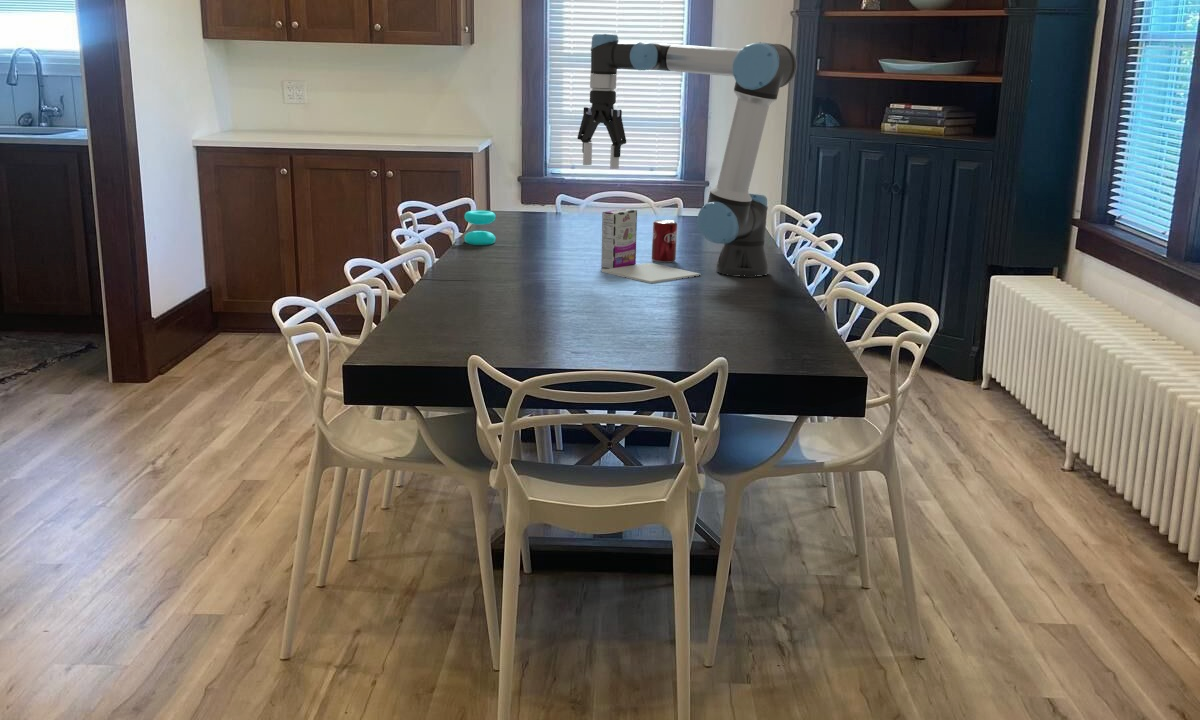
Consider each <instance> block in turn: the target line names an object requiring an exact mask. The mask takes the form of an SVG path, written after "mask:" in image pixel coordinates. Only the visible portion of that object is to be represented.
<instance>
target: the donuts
mask: <svg viewBox="0 0 1200 720" xmlns="http://www.w3.org/2000/svg"><path fill="white" fill-rule="evenodd" d="M496 217H497V216H496V213H495V212H493V211H489V210H468V211H466V212H465V213H464V220H465V221H466V222H467V223H469V224H472V225H489V224H491V223H493V222H494V221H495V220H496ZM496 241H497V239H496V236H495V234H493V233H492V232H490V231H488V230H487V231H484V230H473V231H469V232H467V233H466V234H465V235H464V242H465V243H466V244H469V245H473V246H474V245H475V246H488V245H493V244H494V243H495V242H496Z"/></svg>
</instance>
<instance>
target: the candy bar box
mask: <svg viewBox="0 0 1200 720" xmlns="http://www.w3.org/2000/svg"><path fill="white" fill-rule="evenodd" d="M601 215H602V216H601V219H602V220H601V221H602V223H601V224H602V225H601V264H600V265H601V269H609V268H617V267H624V266H631V265H637V260H636V258H637V255H636V254H637V231H638V230H637V229H638V228H637V226H638V225H637V223H638V210H637V209H632V208H621V209H615V210H609V211H608V210H607V211H602V212H601Z"/></svg>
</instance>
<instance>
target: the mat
mask: <svg viewBox="0 0 1200 720" xmlns="http://www.w3.org/2000/svg"><path fill="white" fill-rule="evenodd" d="M600 272H601V273H604V274H605V273H606V274H610V275H614V276H616V277H617V276H619V277H622V278H625V277H626V278H625V279H629V280H630V279H631V280H634V281H639V282H642V281H643V283H647V284H657V283H662V282H663V283H664V282H669V281H675V280H676V279H677V280H681V279H682V278H683V279H689V278H695V277H694V276H696V277H700V276H701V274H702V273H700V272H695V271H689V270H685V269H681V268H676V267H671V266H667V265H663V264H659V263H655V262H654V263H653V262H647V263H640V264H635V265H631V266H624V267H617V268H609V269H607V268H601V269H600ZM699 275H700V276H699ZM688 277H689V278H688Z"/></svg>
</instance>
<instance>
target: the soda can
mask: <svg viewBox="0 0 1200 720" xmlns="http://www.w3.org/2000/svg"><path fill="white" fill-rule="evenodd" d="M677 236H678V223H677V221H675V220H670V219H668V220H667V219H657V220H654V221H653V224H652V243H651V260H652V261H653V262H654V263H658V264H659V263H660V264H672V263H674V262H675V261H676V259H677V258H676V255H677V241H678V240H677V239H678V237H677Z"/></svg>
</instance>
